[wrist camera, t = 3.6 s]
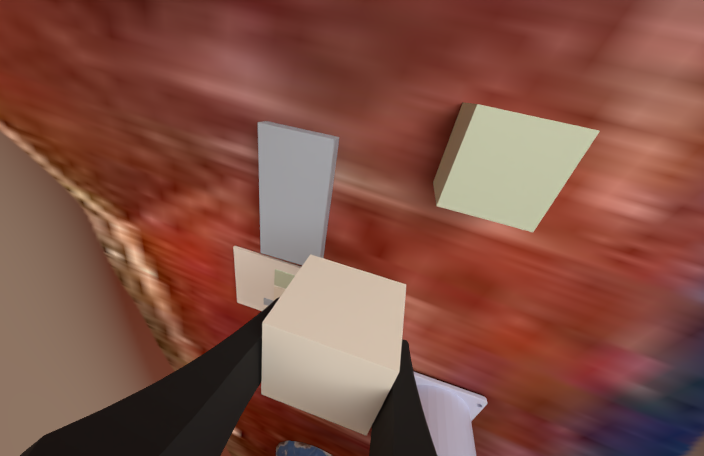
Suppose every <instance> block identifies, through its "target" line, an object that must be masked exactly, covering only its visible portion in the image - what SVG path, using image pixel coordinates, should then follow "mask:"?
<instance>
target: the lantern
mask: <svg viewBox="0 0 704 456" xmlns="http://www.w3.org/2000/svg"><path fill="white" fill-rule="evenodd" d="M276 456H332V455H331V454H329V453H327V452H325V451H323V450H321V449H319V448H318V447H315V446H312V445H309V444H306V443H303V442H296V441H285V442H280V443H279V444H278V446H277V447H276Z"/></svg>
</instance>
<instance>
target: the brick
mask: <svg viewBox="0 0 704 456" xmlns="http://www.w3.org/2000/svg"><path fill="white" fill-rule="evenodd" d="M405 295H406V284H403V283H400V282H396V281H393V280H390V279H387V278H384V277H381V276H377V275H374V274H371V273H368V272H365V271H362V270H358V269H355V268H352V267H349V266H346V265H343V264H339V263H336V262H333V261H330V260H327V259H324V258H321V257H317V256H314V255H311V254H310V256H309V257H308V258H307V260H306V261H305V263H304V264H303V265H302V267H301V268H300V270H299V271H298V273H297V274H296V275H295V277H294V278H293V280H292V281H291V282H290V284H289V285H288V287H287V288H286V290H285V291H284V292H283V294H282V295H281V297H280V298H279V300H278V301H277V302H276V304H275V305H274V307H273V308H272V309H271V311H270V312H269V314H268V315H267V317H266V318H265V319H264V321H263V322H262V385H261V394H262V395H265V396H267V397H270V398H272V399H275V400H277V401H280V402H283V403H285V404H288V405H290V406H293V407H295V408H298V409H300V410H303V411H305V412H308V413H310V414H313V415H315V416H318V417H320V418H323V419H325V420H328V421H330V422H333V423H335V424H338V425H340V426H343V427H346V428H348V429H351V430H353V431H356V432H358V433H361V434H363V435H366V436H367V434H368V432H369V430H370V428H371V426H372V424H373V422H374V420H375V418H376V416H377V414H378V412H379V410H380V409H381V407H382V405H383V403H384V401H385V399H386V397H387V395H388V393H389V391H390V389H391V387H392V385H393V383H394V381H395V379H396V378H397V376H398V374H399V371H400V359H401V346H402V333H403V320H404V308H405Z"/></svg>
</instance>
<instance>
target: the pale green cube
mask: <svg viewBox="0 0 704 456" xmlns="http://www.w3.org/2000/svg"><path fill="white" fill-rule="evenodd" d="M598 133H599V131H598V130H593V129H589V128H584V127H579V126H575V125H570V124H566V123H561V122H556V121H552V120H547V119H543V118H538V117H534V116H529V115H524V114H520V113H515V112H511V111H506V110H501V109H497V108H492V107H488V106H483V105H478V104H471V103H462V106H461V109H460V111H459V114H458V117H457V119H456V122H455V125H454V127H453V130H452V133H451V135H450V138H449V141H448V143H447V146H446V149H445V152H444V154H443V157H442V160H441V162H440V165H439V168H438V170H437V173H436V176H435V178H434V181H433V186H434V193H435V199H436V206H438V207H441V208H445V209H449V210H453V211H456V212H460V213H464V214H467V215H471V216H475V217H478V218H482V219H486V220H490V221H493V222H497V223H501V224H504V225H508V226H512V227H515V228H519V229H523V230H526V231H530V232H534V230H535V229H536V227H537V226H538V224H539V223H540V221H541V219H542V218H543V216H544V215H545V213H546V212H547V210H548V209H549V207H550V206H551V204H552V203H553V201H554V200H555V198H556V197H557V195H558V194H559V192H560V191H561V189H562V188H563V186H564V185H565V183H566V181H567V180H568V178H569V177H570V175H571V174H572V172H573V171H574V169H575V168H576V166H577V165H578V163H579V162H580V160H581V159H582V157H583V156H584V154H585V153H586V151H587V150H588V148H589V147H590V145H591V144H592V142H593V140H594V139H595V137H596V136H597V134H598Z"/></svg>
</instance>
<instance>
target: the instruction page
mask: <svg viewBox="0 0 704 456" xmlns="http://www.w3.org/2000/svg"><path fill="white" fill-rule="evenodd" d="M233 248H234V263H235V278H236V292H237V303H240V304H243V305H246V306H249V307H252V308H254V309H257V310H260V311H263V310H264V309H265V308H266V307H267V306H269V305H270V304H271V303H272V302H273V301H274V300H275V299H277V298H279V297H281V295H282V294H283V292H284V291H285V290H286V288H287V287H288V285H289V284H290V282H291V281H292V280H293V278H294V277H295V275H296V274H297V273H298V271H299V270H300V268H301V266H298V265H295V264H291V263H288V262H285V261H282V260H279V259H276V258H272V257H269V256H266V255H263V254H260V253H257V252H254V251H250V250H247V249H244V248H241V247H238V246H234V247H233Z"/></svg>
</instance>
